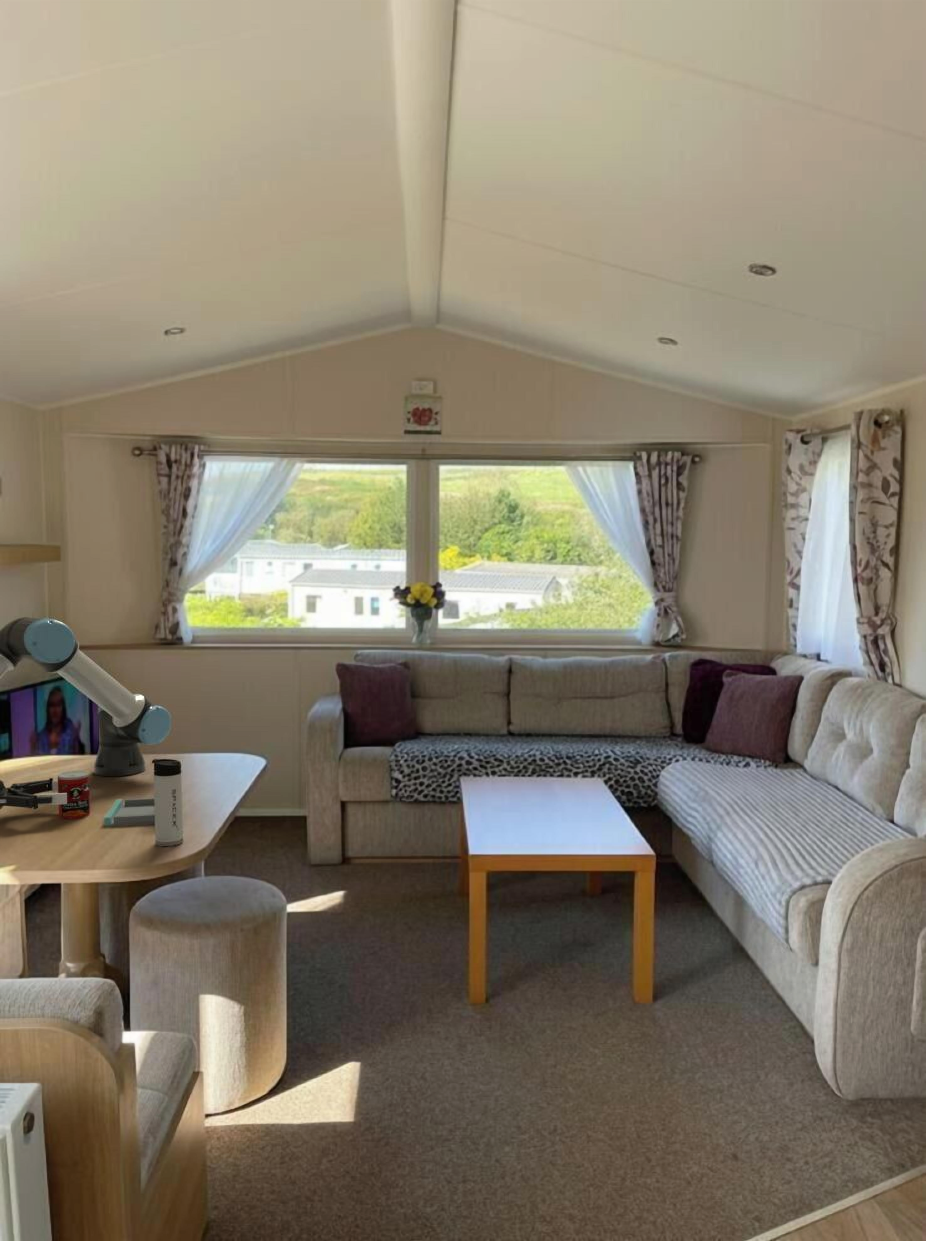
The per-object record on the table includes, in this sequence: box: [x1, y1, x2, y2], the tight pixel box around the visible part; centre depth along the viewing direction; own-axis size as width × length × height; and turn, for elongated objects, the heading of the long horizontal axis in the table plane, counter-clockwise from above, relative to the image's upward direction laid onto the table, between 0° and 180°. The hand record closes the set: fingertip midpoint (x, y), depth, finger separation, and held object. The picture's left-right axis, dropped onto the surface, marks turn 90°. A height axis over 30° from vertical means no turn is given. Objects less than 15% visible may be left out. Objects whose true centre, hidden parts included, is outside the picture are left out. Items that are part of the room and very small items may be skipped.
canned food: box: [57, 770, 91, 820], centre depth 250 cm, size 8×8×11 cm
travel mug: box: [151, 758, 184, 847], centre depth 226 cm, size 6×7×20 cm
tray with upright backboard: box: [103, 797, 155, 827], centre depth 250 cm, size 18×15×10 cm
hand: (72, 791), depth 250 cm, fingers open, 13 cm apart
